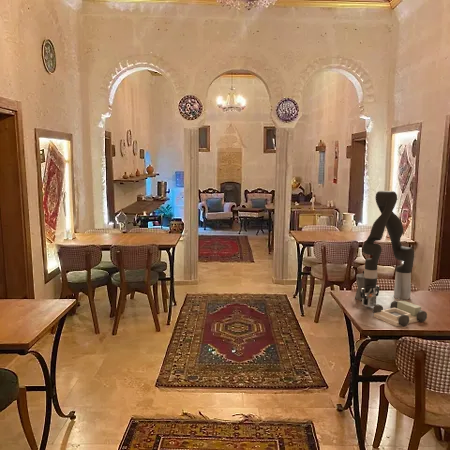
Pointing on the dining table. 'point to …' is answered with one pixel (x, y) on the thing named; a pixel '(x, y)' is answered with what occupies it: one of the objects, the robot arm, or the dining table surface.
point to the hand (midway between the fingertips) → (369, 303)
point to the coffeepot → (359, 285)
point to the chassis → (400, 313)
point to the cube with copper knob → (370, 300)
